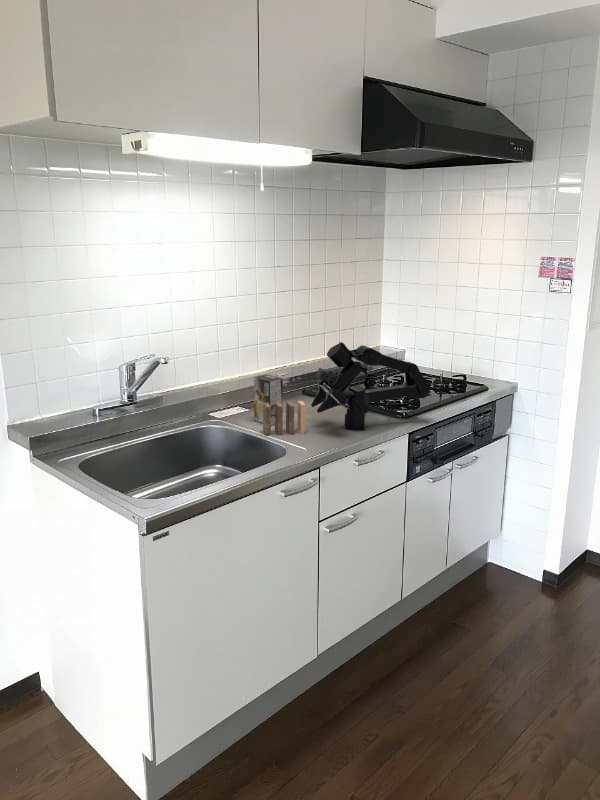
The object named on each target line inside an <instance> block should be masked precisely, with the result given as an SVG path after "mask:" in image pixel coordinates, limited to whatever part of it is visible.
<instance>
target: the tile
mask: <svg viewBox="0 0 600 800" xmlns="http://www.w3.org/2000/svg"><path fill="white" fill-rule="evenodd" d="M306 407H307V405H306V403H305V402H304V401H303V400H297V411H296V412H297V420H296V422H297V426H296V427H297V428H296V430H298V432H299V433H300V434H306V422H307V421H306V418H307V417H306V414H307V412H306V411H307V408H306Z"/></svg>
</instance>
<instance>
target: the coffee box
mask: <svg viewBox="0 0 600 800" xmlns="http://www.w3.org/2000/svg"><path fill="white" fill-rule="evenodd" d="M283 380H284V378H282V377H277V376H273V375H271V374H262V375H257V376H253V399H254V400H253V401H254V402H253V406H254V407H253V409H254V410H253V411H254V414H253V415H254V417H253V418H254V421H255V420H256V421H255V422H258V421H259V422H258V423H261V422H262V424H263V403H268V404H269V405H270V406H271V426H275V402H280V403H281V404H282V406H283V407H284V405H283V404H284V401H283V400H284V398H283V395H284V392H283V391H284V383H283V382H284V381H283Z"/></svg>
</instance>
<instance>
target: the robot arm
mask: <svg viewBox="0 0 600 800" xmlns="http://www.w3.org/2000/svg"><path fill="white" fill-rule="evenodd" d="M326 356H327V358H329V359H330V361H331V362H332V363H334V365H335V366H337V367H338V368H341V369H340V370H339V371H338V370H336V371H332V370H330V369H327V370H326V369H324V368H321V367H319V368H318V371H317V372H316V375H315V377H317V380H316V383H317V393H316V395H314V396H315V397H314V398H313V400H312V401H311V404H310V406H311V408H315V407H317V406H318V405H319V406H318V408H317V409H316V412H317V413H318V414H320V413H322V412H325V411H327V410H330V409H332V408H335V407H340V406H341V405H342V406H343V407H344V408H345V409H346V412H345V413H344V427H345V430H351V429H353V430H354V431H355V430H357V431H365V430H366V427H365V426H366V425H365V424H366V423H365V422H366V420H365V418H366V414H368V412H369V409H370V407H369V405H368V404H369V403H373V402H380V401H387V400H392V399H393V400H394V399H399V398H406V397H407V398H413V399H425V398H427V397H428V396H429V394H430V392H431V387H430V385H429V384H428V383H427V380H426V379H425V377H424V376H423V375H422V372H421V371H420V369H419V366H418V365H417V364H416V363H414V362H411V361H406V360H402V359H400V358H396V357H392V356H388V355H385V354H383V353H382V352H380V351H378V350H376V349H374V348H372V347H369V346H367V345H363V344H361V345H360V346H358V347H357V348H355V349H354V348H353V349H349V348H348V347H347V346H346V344H345V343H344V342H342V341H339V342H338V343H336V344H335V345H333V346H332V347H330V348H329V349H328V351H327V352H326ZM353 359H354V360H356V361H354V360H353ZM361 363H362V364H364V365H362V364H361ZM365 365H366V366H365ZM367 366H373V367H375V366H380V367H381V366H383V367H387V368H389V369H393V370H396V371H399V372H403V373H404V377H405V378H404V379H405V381H404V382H403V383H402V384H397V385H390V386H385V387H383V386H382V387H378V388H370V389H366V388H364V387H362V386H361V385H359V384H358V385H355V386H354V385H353V384H352V383H354V381H355V380H356V379H357V378H358V377H359V376H360V375H361V374H363V375H364V376H366V377H367V376H368V367H367Z"/></svg>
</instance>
